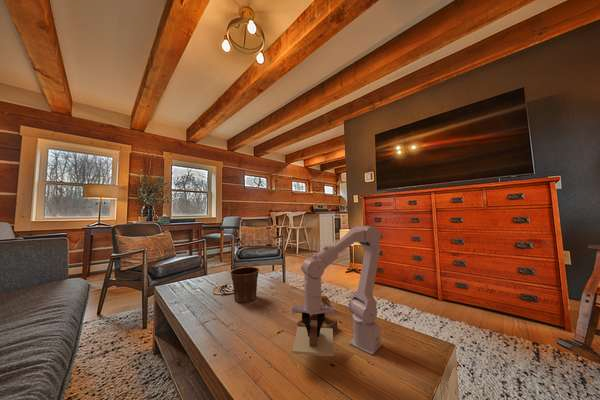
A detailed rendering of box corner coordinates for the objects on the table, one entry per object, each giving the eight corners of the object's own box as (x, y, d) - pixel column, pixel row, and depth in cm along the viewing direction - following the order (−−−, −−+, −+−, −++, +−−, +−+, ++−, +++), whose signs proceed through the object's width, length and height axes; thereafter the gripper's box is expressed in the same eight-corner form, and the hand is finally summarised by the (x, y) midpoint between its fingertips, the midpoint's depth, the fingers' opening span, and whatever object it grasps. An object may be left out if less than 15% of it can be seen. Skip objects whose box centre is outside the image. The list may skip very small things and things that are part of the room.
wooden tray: (337, 328, 90) (337, 321, 90) (319, 341, 82) (319, 333, 82) (315, 318, 99) (315, 312, 99) (297, 329, 90) (297, 322, 90)
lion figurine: (306, 314, 103) (306, 295, 103) (303, 309, 108) (302, 291, 108) (333, 309, 108) (333, 291, 108) (329, 305, 113) (328, 287, 113)
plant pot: (224, 303, 117) (224, 273, 118) (240, 292, 133) (240, 266, 134) (250, 306, 113) (250, 275, 114) (264, 294, 128) (263, 267, 129)
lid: (332, 330, 78) (332, 317, 78) (333, 356, 65) (333, 340, 65) (297, 328, 80) (297, 315, 80) (292, 353, 67) (291, 338, 67)
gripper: (334, 290, 76) (334, 329, 75) (293, 289, 78) (294, 327, 77) (334, 298, 69) (335, 342, 68) (290, 297, 71) (291, 339, 70)
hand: (313, 335), depth 72 cm, fingers closed on lid, 2 cm apart
